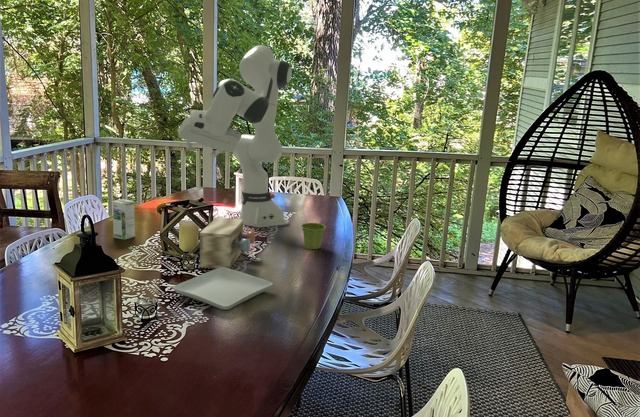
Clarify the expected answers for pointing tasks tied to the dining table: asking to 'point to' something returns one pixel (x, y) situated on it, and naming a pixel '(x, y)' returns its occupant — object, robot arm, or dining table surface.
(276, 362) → the dining table surface
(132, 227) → the syrup box
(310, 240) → the plant pot
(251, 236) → the button brick
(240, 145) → the robot arm
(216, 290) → the salad plate
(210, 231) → the cardboard box
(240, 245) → the blue grey rounded piece
